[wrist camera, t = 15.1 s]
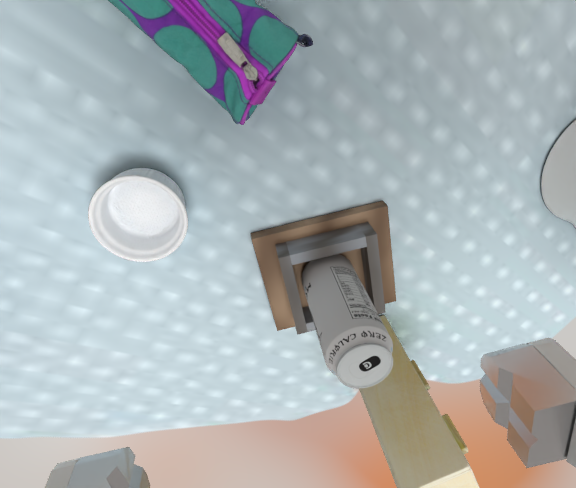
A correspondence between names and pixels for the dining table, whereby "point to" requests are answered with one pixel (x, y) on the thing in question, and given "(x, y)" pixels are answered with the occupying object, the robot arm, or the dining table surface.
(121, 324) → the dining table surface
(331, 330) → the energy drink can
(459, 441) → the toy refrigerator
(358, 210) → the jig board
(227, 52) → the pencil case
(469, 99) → the dining table surface
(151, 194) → the ramekin
